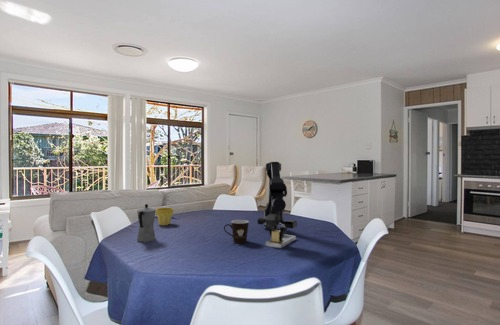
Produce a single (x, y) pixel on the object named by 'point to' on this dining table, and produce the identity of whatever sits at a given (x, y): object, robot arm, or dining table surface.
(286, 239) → the rail
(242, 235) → the coffee mug
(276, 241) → the golden block
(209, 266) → the dining table surface
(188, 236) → the dining table surface
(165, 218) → the plant pot
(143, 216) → the coffeepot
